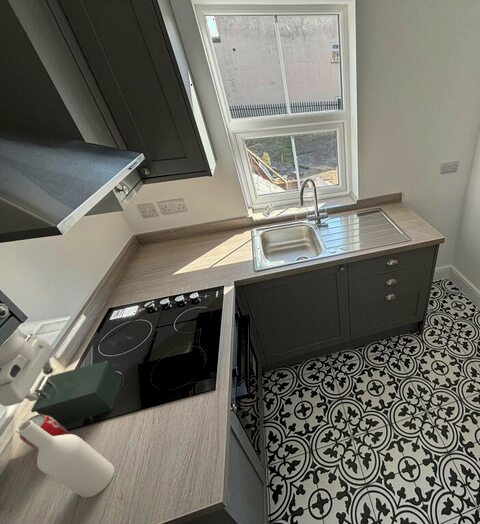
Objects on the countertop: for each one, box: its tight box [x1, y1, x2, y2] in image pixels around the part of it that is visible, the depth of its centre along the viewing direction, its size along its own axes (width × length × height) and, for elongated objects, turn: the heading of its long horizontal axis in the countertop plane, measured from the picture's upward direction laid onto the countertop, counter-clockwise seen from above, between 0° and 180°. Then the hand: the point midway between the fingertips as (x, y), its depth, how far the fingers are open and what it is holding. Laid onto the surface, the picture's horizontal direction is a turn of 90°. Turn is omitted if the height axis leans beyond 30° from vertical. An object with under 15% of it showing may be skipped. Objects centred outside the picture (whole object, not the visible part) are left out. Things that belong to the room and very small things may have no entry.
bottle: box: [16, 419, 115, 498], centre depth 72 cm, size 8×8×30 cm
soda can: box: [18, 414, 71, 452], centre depth 85 cm, size 7×7×12 cm
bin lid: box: [30, 360, 109, 413], centre depth 93 cm, size 16×13×5 cm
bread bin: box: [35, 361, 123, 427], centre depth 97 cm, size 16×13×10 cm
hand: (43, 384), depth 90 cm, fingers open, 8 cm apart
